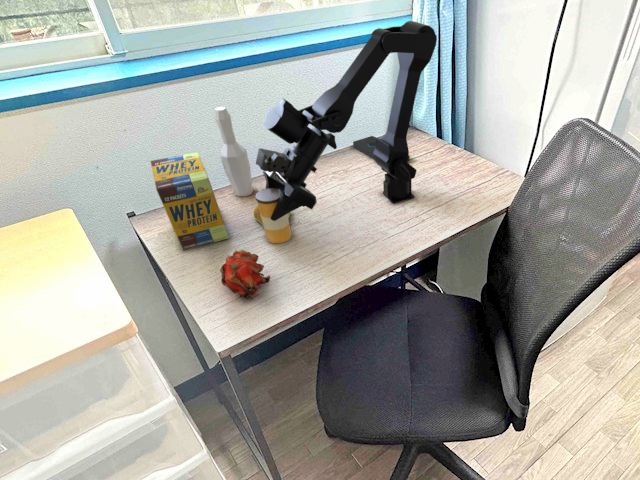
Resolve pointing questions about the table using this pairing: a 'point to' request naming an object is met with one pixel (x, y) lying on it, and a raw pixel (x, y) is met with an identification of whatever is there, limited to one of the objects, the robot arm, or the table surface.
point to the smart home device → (367, 146)
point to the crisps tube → (267, 203)
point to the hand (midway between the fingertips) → (267, 213)
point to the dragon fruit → (243, 274)
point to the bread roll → (258, 215)
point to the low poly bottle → (233, 156)
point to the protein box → (189, 200)
